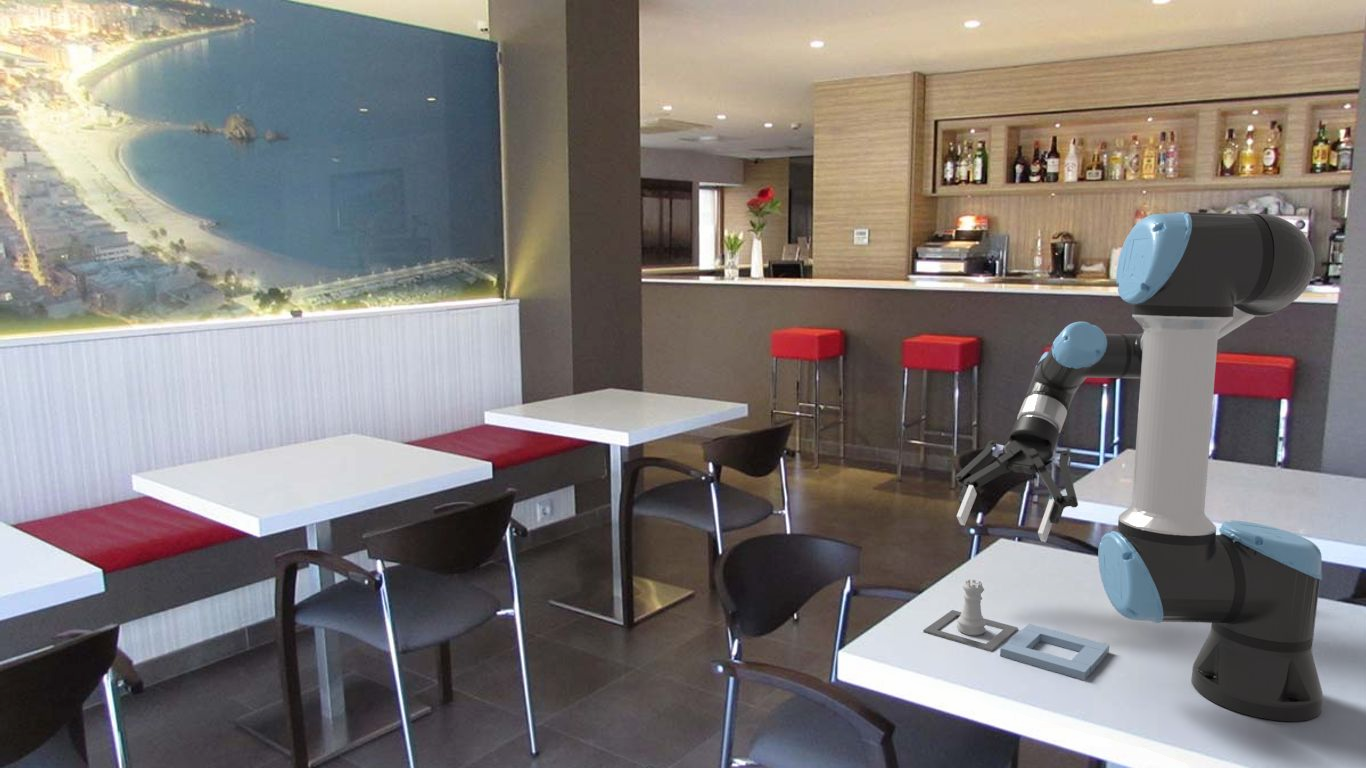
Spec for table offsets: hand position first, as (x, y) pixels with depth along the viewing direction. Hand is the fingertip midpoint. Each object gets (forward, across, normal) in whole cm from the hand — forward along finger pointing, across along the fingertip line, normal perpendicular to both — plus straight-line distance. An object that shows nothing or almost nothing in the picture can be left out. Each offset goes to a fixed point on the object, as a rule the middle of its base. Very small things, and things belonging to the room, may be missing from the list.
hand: (999, 529), depth 152 cm
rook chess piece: (+18, 0, -3) cm, 18 cm away
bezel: (+17, 0, -3) cm, 18 cm away
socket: (+17, -13, -3) cm, 22 cm away
